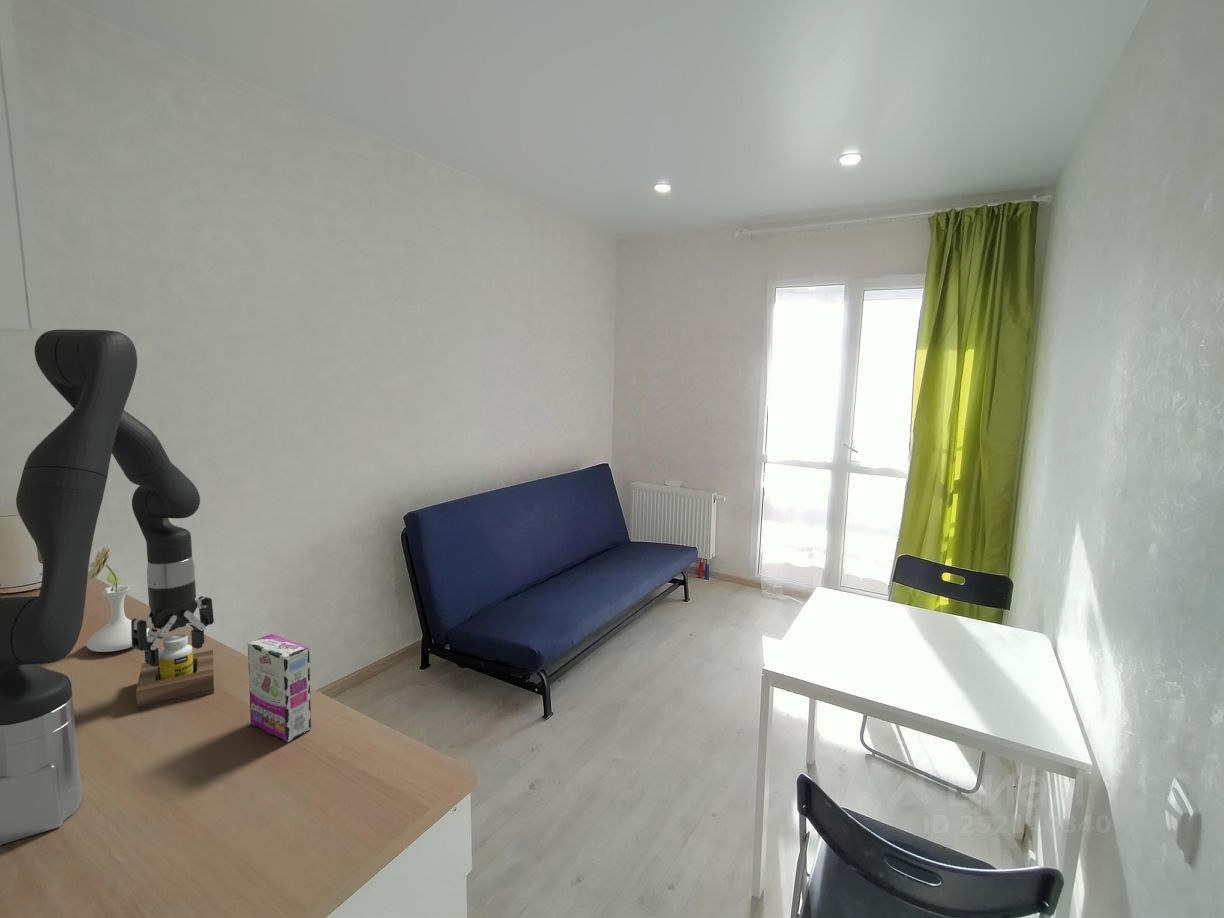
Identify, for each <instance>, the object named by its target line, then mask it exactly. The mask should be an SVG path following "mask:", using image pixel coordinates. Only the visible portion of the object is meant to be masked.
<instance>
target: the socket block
mask: <svg viewBox="0 0 1224 918" xmlns="http://www.w3.org/2000/svg"><path fill="white" fill-rule="evenodd" d="M210 694H211V695H212V694H215V663H214V649H211V650H207V651H206V650H205V651H200V652H196V653H193V673H190V674H185V675H181V676H176V677H171V678H166V679H162V680H160V664H159V665H158V666H156V667H153V666H150V665H149V664H146V662H145V663H144V662H143V663H142V665H141V667H140V672H139V676H138V680H137V685H136V689H135V695H136V696H135V697H136V707H137V711H141V710H145V709H146V710H147V709H150V708H156V707H160V706H163V705H168V704H171V703H176V702H180V701H185V700H189V699H193V698H198V697H203V696H208V695H210Z"/></svg>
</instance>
